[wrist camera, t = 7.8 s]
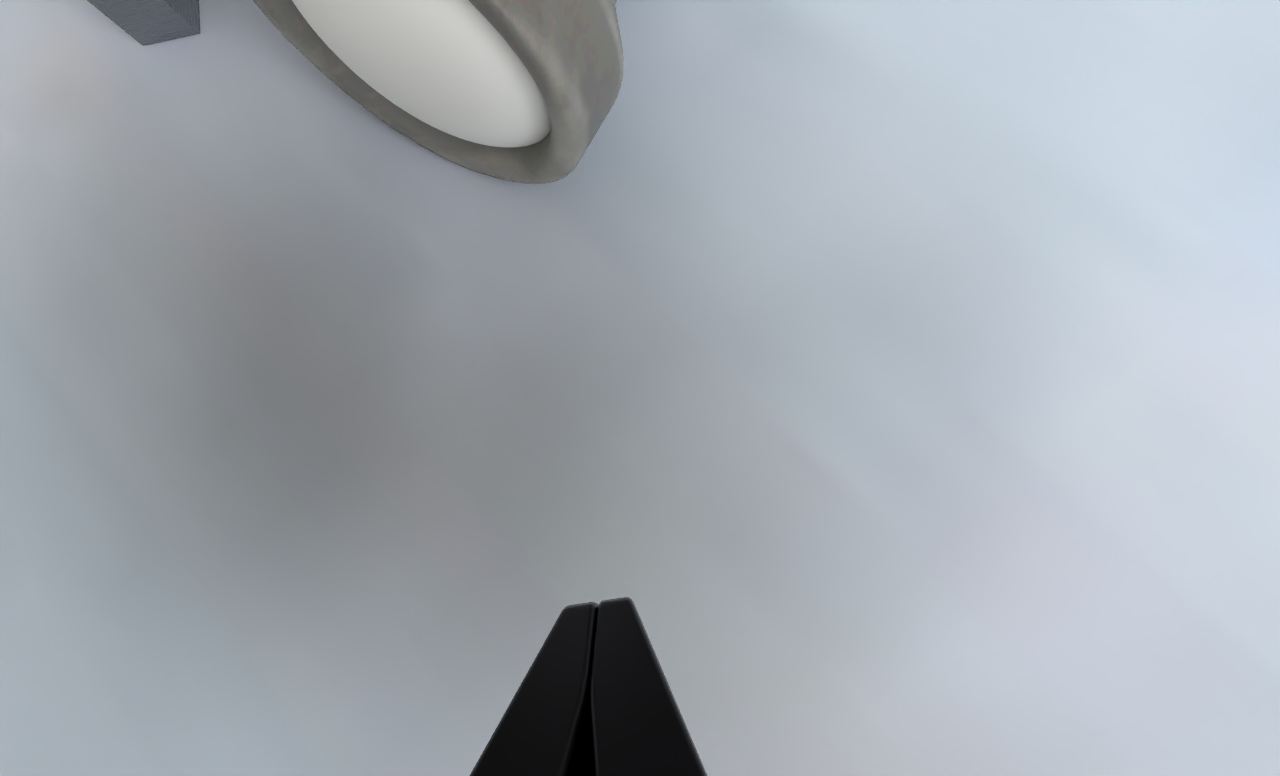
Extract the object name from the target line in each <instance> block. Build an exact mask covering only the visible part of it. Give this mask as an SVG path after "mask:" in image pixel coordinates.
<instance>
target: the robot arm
mask: <svg viewBox="0 0 1280 776" xmlns="http://www.w3.org/2000/svg"><path fill="white" fill-rule="evenodd" d="M470 776H707V774H706V772H705V769H704V767H703V765H702V762H701V760H700V758H699V755H698V753H697V750H696V748H695V746H694V743H693V741H692V739H691V736H690V734H689V732H688V729H687V727H686V725H685V722H684V720H683V718H682V715H681V713H680V711H679V708H678V706H677V703H676V701H675V699H674V696H673V694H672V692H671V689H670V687H669V685H668V682H667V680H666V678H665V675H664V673H663V671H662V668H661V666H660V664H659V661H658V659H657V657H656V654H655V652H654V649H653V647H652V645H651V642H650V640H649V638H648V635H647V633H646V631H645V628H644V626H643V624H642V621H641V619H640V617H639V614H638V612H637V610H636V607H635V605H634V603H633V601H632V599H630V598H628V597H624V598H617V599H610V600H604V601H602V602H601V603H600V604H599V605H598V604H597V603H594V602H589V603H582V604H575V605H570V606H567V607H566V608H564V609H563V611H562V612H561V614H560V616H559V617H558V619H557V621H556V623H555V625H554V626H553V628H552V630H551V632H550V633H549V635H548V637H547V639H546V641H545V642H544V644H543V646H542V648H541V650H540V651H539V653H538V655H537V657H536V658H535V660H534V662H533V664H532V666H531V667H530V669H529V671H528V673H527V675H526V676H525V678H524V680H523V682H522V683H521V685H520V687H519V689H518V691H517V692H516V694H515V696H514V698H513V700H512V701H511V703H510V705H509V707H508V708H507V710H506V712H505V714H504V716H503V717H502V719H501V721H500V723H499V724H498V726H497V728H496V730H495V732H494V733H493V735H492V737H491V739H490V741H489V742H488V744H487V746H486V748H485V749H484V751H483V753H482V755H481V757H480V758H479V760H478V762H477V764H476V766H475V767H474V769H473V771H472V773H471V774H470Z"/></svg>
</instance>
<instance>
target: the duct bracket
mask: <svg viewBox="0 0 1280 776" xmlns="http://www.w3.org/2000/svg"><path fill="white" fill-rule="evenodd" d="M87 1H89V2H90V3H91V4H92V5H94V6H95V7H96V8H97V9H99V10H100V11H101V12H102V13H104V14H105V15H106V16H107V17H109V18H110V19H111V20H112V21H113V22H115V23H116V24H117V25H118V26H120V27H121V28H122V29H123V30H125V31H126V32H127V33H128V34H130V35H131V36H132V37H133V38H134V39H136V40H137V41H138V42H139V43H141V44H142V45H143V46H144V45H148V44H153V43H157V42H162V41H166V40H171V39H176V38H180V37H185V36H189V35H194V34H198V33H199V10H198V0H87Z"/></svg>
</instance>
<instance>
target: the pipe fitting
mask: <svg viewBox="0 0 1280 776" xmlns="http://www.w3.org/2000/svg"><path fill="white" fill-rule="evenodd" d="M253 1H254V2H255V3H256V4H257V6H258V7H259V8H260V9H261V10H262V12H263V13H264V14H265V15H266V16H267V17H268V19H269V20H270V21H271V22H272V23H273V24H274V25H275V27H276V28H277V29H278V30H279V31H280V32H281V33H282V34H283V35H284V37H285V38H286V39H287V40H288V41H289V42H290V43H291V44H293V45H294V46H295V47H296V48H297V49H298V50H299V51H300V52H301V53H302V54H303V55H304V56H305V57H307V58H308V59H309V60H310V61H311V62H312V63H313V64H314V65H315V66H316V67H317V68H318V69H319V70H320V71H321V72H322V73H324V74H325V75H326V76H327V77H328V78H329V79H330V80H332V81H333V82H334V83H335V84H336V85H337V86H339V87H340V88H341V89H342V90H343V91H345V92H346V93H347V94H348V95H350V96H351V97H352V98H353V99H355V100H356V101H357V102H358V103H360V104H361V105H362V106H364V107H365V108H366V109H367V110H369V111H370V112H372V113H373V114H374V115H376V116H377V117H379V118H380V119H381V120H383V121H384V122H385V123H387V124H388V125H390V126H391V127H393V128H394V129H396V130H397V131H399V132H400V133H402V134H404V135H405V136H407V137H409V138H410V139H412V140H413V141H415V142H417V143H418V144H420V145H422V146H424V147H425V148H427V149H429V150H431V151H433V152H434V153H436V154H438V155H440V156H442V157H444V158H446V159H448V160H450V161H452V162H455V163H457V164H459V165H461V166H463V167H466V168H468V169H471V170H474V171H477V172H481V173H484V174H487V175H491V176H494V177H498V178H501V179H505V180H510V181H515V182H521V183H530V184H540V183H549V182H553V181H557V180H559V179H561V178H564V177H565V176H567V175H568V174H569V173H570V172H571V171H572V170H573V169H574V168H575V166H576V165H577V164H578V162H579V160H580V159H581V157H582V156H583V154H584V152H585V151H586V149H587V147H588V146H589V144H590V142H591V141H592V139H593V137H594V135H595V134H596V132H597V130H598V129H599V127H600V125H601V124H602V122H603V120H604V119H605V117H606V115H607V114H608V112H609V110H610V109H611V107H612V105H613V103H614V102H615V99H616V97H617V95H618V92H619V90H620V86H621V81H622V75H623V51H622V43H621V37H620V31H619V26H618V21H617V15H616V10H615V2H616V1H617V0H253Z"/></svg>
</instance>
